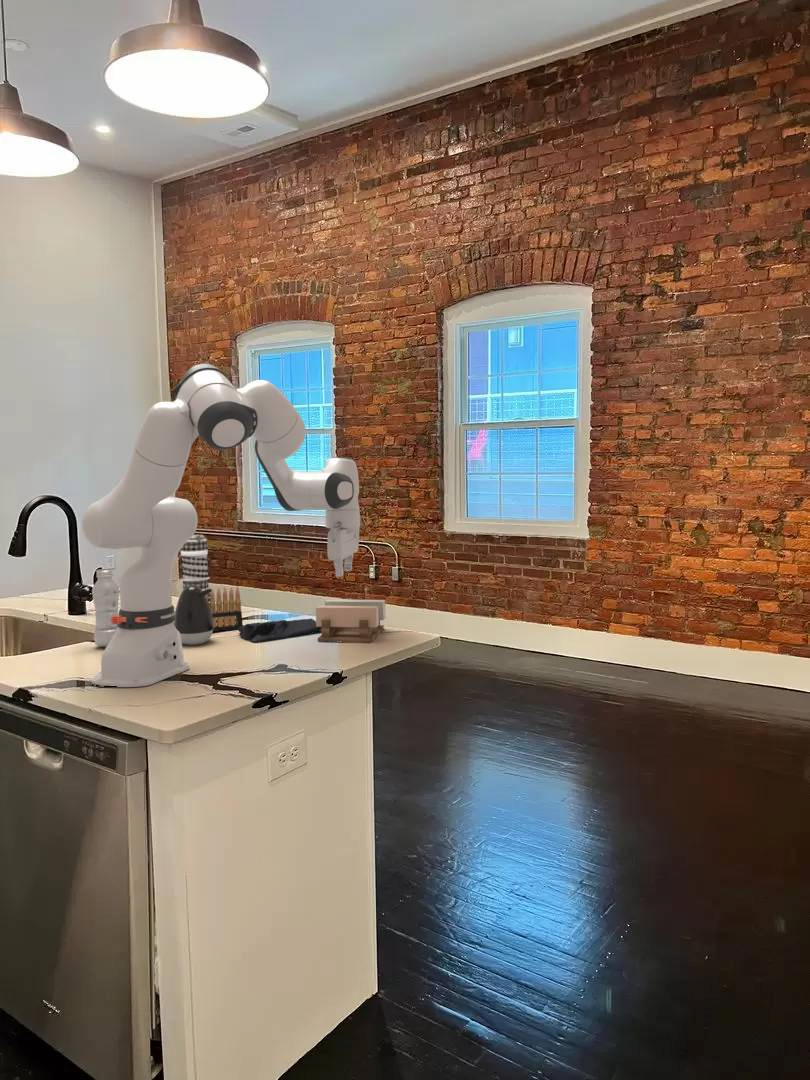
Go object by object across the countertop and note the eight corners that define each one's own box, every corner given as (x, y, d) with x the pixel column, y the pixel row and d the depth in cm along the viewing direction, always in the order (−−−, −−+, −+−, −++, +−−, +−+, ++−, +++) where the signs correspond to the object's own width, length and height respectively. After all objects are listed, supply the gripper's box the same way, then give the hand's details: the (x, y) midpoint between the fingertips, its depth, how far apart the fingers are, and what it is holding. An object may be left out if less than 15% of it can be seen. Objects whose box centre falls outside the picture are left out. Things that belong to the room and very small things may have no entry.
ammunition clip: (241, 627, 225) (240, 585, 224) (243, 628, 224) (241, 586, 222) (203, 631, 221) (201, 588, 220) (204, 632, 219) (202, 589, 218)
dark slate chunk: (329, 635, 214) (328, 618, 214) (249, 646, 204) (249, 627, 204) (308, 625, 228) (308, 609, 227) (233, 635, 218) (232, 618, 217)
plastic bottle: (94, 645, 206) (90, 569, 205) (122, 642, 209) (117, 567, 207) (94, 650, 200) (89, 572, 199) (122, 648, 203) (118, 570, 201)
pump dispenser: (205, 648, 201) (202, 588, 199) (167, 647, 203) (164, 588, 201) (222, 639, 211) (219, 582, 209) (185, 638, 213) (183, 582, 211)
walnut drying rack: (370, 642, 202) (370, 621, 202) (317, 641, 205) (316, 620, 204) (384, 628, 219) (383, 609, 218) (334, 628, 221) (334, 608, 221)
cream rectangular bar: (385, 618, 216) (385, 600, 215) (383, 620, 213) (382, 601, 212) (328, 617, 219) (327, 599, 218) (325, 619, 216) (325, 601, 215)
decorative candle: (176, 617, 243) (172, 535, 241) (203, 612, 249) (199, 533, 247) (190, 621, 236) (186, 537, 234) (218, 616, 243) (214, 534, 240)
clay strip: (378, 625, 207) (378, 606, 207) (376, 627, 204) (375, 608, 204) (319, 624, 210) (318, 605, 209) (316, 626, 207) (315, 607, 206)
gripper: (345, 523, 194) (346, 579, 196) (362, 517, 215) (363, 568, 216) (320, 523, 195) (321, 579, 197) (339, 517, 216) (341, 568, 217)
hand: (344, 573), depth 207 cm, fingers open, 8 cm apart
